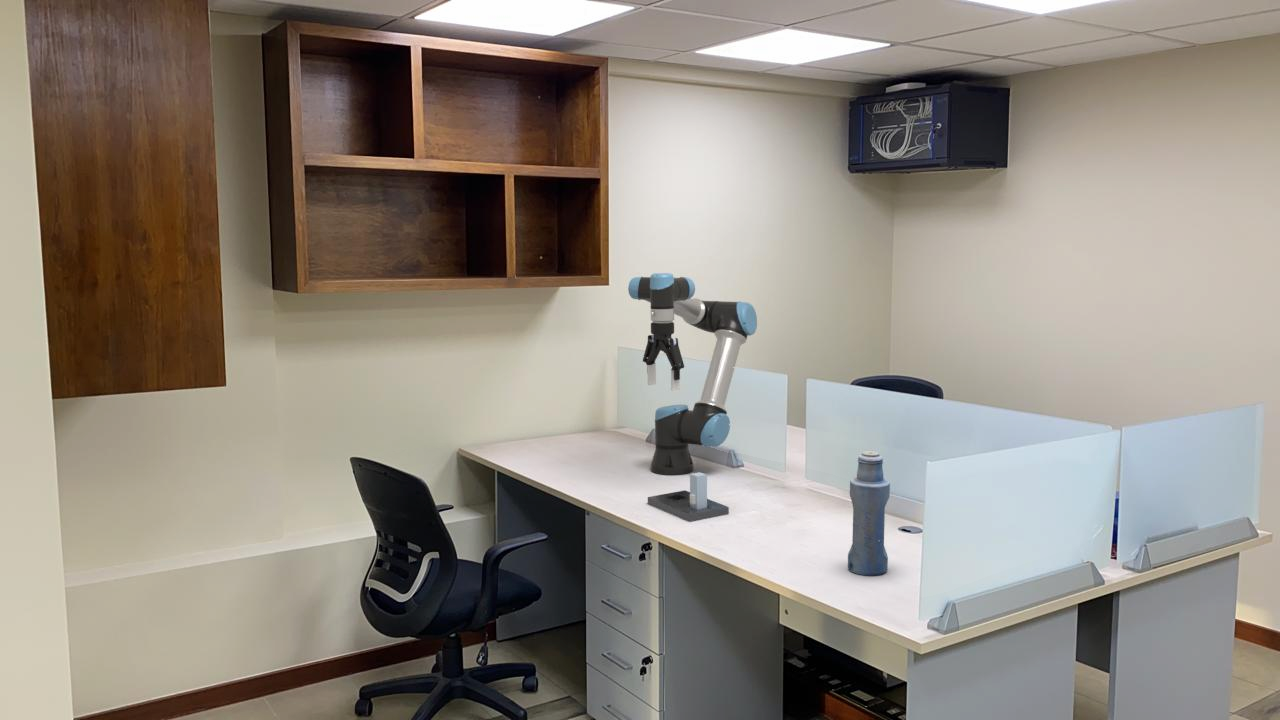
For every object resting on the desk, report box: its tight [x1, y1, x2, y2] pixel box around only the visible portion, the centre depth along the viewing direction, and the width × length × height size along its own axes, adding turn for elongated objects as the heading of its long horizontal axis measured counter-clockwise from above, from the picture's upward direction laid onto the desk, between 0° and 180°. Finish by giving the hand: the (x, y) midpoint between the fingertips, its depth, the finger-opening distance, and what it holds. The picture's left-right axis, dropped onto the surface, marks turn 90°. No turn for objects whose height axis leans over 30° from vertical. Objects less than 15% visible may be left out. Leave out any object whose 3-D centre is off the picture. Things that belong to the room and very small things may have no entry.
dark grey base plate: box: [647, 490, 730, 523], centre depth 302 cm, size 14×23×3 cm, turn 32°
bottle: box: [847, 450, 891, 576], centre depth 247 cm, size 10×10×30 cm
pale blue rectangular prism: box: [689, 472, 708, 510], centre depth 296 cm, size 4×4×12 cm
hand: (663, 387), depth 321 cm, fingers open, 13 cm apart
